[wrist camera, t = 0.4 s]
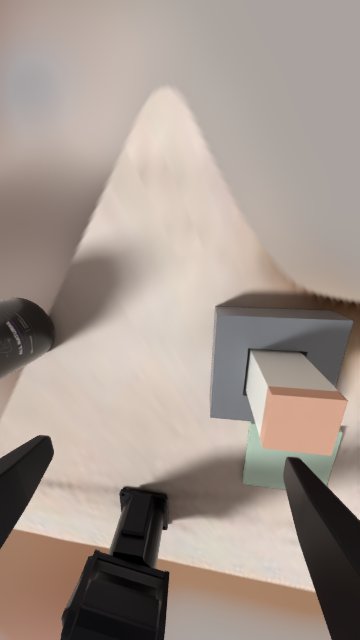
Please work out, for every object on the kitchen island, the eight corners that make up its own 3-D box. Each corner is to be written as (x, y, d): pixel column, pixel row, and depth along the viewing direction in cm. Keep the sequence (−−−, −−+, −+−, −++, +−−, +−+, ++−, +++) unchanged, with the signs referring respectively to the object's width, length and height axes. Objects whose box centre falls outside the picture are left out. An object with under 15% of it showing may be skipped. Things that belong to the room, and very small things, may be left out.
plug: (284, 380, 20) (331, 455, 13) (241, 377, 21) (262, 448, 13) (290, 342, 19) (347, 400, 11) (246, 339, 19) (271, 394, 12)
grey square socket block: (308, 404, 21) (324, 428, 18) (209, 396, 22) (210, 417, 19) (330, 310, 18) (353, 320, 15) (215, 306, 19) (216, 315, 16)
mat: (321, 489, 24) (323, 494, 24) (242, 479, 25) (243, 484, 25) (339, 427, 21) (342, 432, 21) (250, 419, 22) (251, 423, 22)
